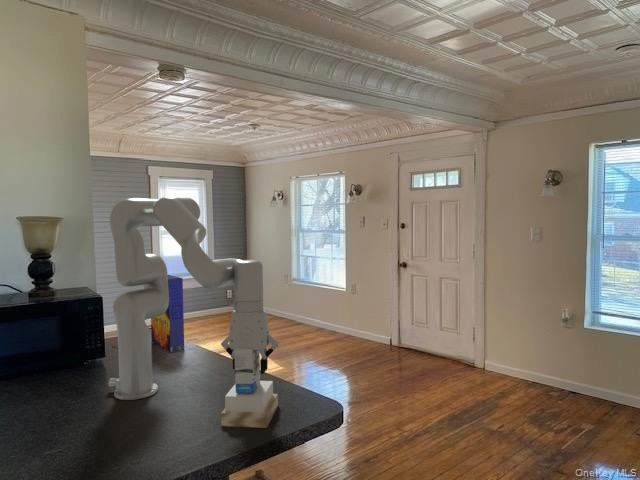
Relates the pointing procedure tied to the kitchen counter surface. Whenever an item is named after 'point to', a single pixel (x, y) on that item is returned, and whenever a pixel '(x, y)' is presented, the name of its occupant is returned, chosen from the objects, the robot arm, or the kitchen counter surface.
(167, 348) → the cereal box
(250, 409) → the upper block
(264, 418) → the lower block
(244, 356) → the ink box
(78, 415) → the kitchen counter surface
